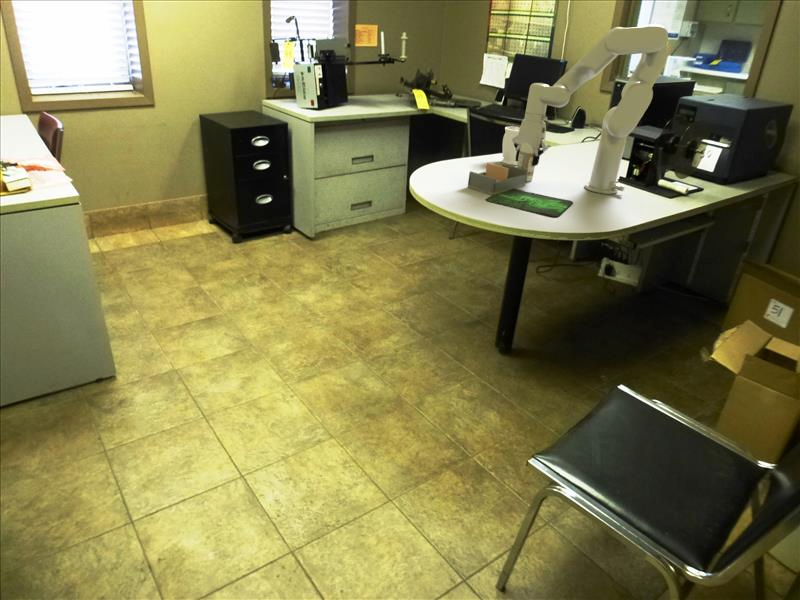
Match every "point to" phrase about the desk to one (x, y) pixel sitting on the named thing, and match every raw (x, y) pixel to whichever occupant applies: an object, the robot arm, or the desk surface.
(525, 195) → the mouse mat
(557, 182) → the desk surface
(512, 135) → the jar
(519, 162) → the bath foam
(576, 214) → the desk surface
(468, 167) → the desk surface
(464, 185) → the desk surface
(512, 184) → the grey open box
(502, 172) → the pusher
